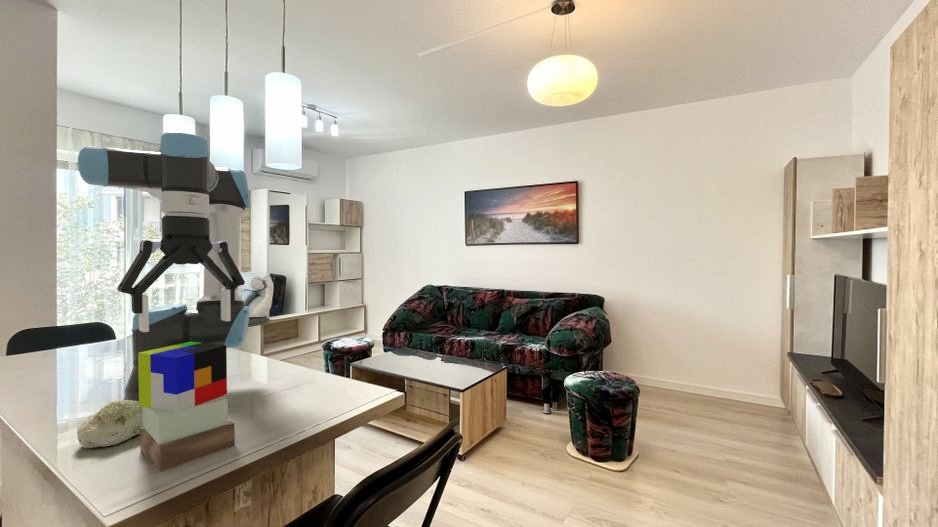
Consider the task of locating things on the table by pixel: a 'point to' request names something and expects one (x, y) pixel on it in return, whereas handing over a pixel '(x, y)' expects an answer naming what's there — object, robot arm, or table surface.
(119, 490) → the table surface
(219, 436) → the walnut slab
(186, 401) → the puzzle toy
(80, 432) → the decorative item
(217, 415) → the sage slab
